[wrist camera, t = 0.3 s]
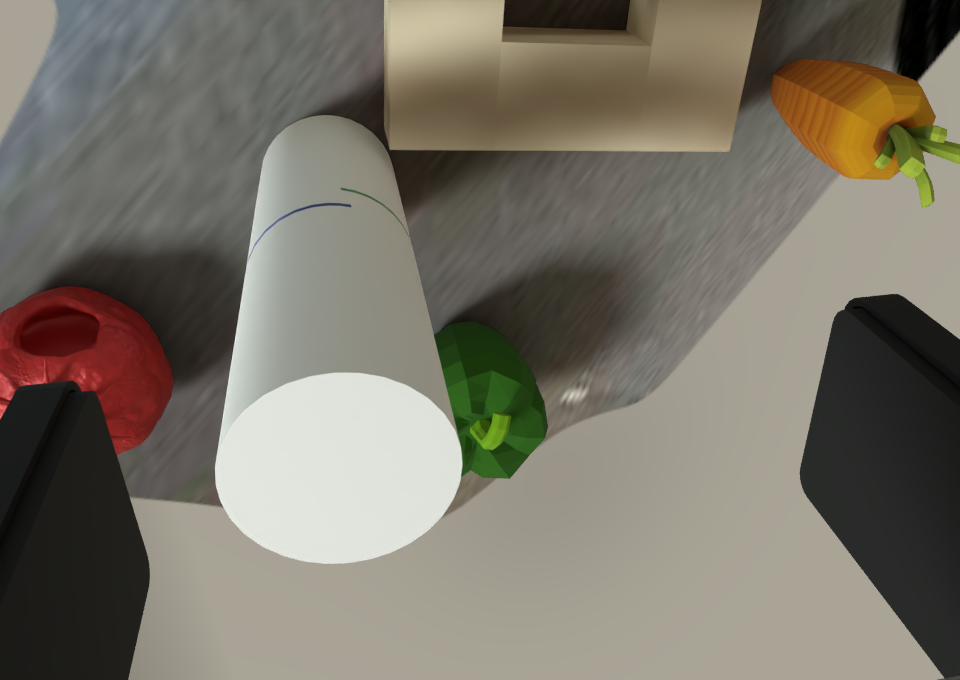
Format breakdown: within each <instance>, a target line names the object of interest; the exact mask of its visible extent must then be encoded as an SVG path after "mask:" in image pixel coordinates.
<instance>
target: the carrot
mask: <svg viewBox="0 0 960 680" xmlns="http://www.w3.org/2000/svg"><path fill="white" fill-rule="evenodd" d="M770 94H771V97H772V100H773V103H774V105H775V107H776V108H777V110H778V112H779V113H780V115H781V116H782V118H783V120H784V121H785V123H786V124H787V125H788V127H789V128H790V130H791V131H792V132H793V134H794V135H795V136H796V137H797V138H798V140H799V141H800V142H801V143H802V144H803V145H804V147H805V148H806V149H808V150H809V151H810V152H811V153H813V154H814V155H815V156H817V157H818V158H819V159H820V160H822V161H823V162H824V163H826V164H827V165H829V166H830V167H831V168H833V169H834V170H836V171H837V172H839V173H840V174H841V175H843V176H845V177H847V178H853V179H876V180H877V179H878V180H889V179H890V178H892V177H893V176H894V175H896V174H897V173H898V172H900V171H902V172H903V174H904V175H905V176H908V177H910V178H912V179H913V178H915V180H916V182H917V185H918V188H919V193H920V199H921V204H922V207H927V206H929V205H930V204H932V203H933V202H934V191H933V186H932V182H931V180H930V178H929V176H928V173H927V172H926V170H925V168H924V167H925V161H924V156H923V154H922V153H923V151H925V152H928V153H931V154H933V155H936V156H939V157H942V158H944V159H947V160H950V161H952V162H955V163H958V164H960V144H956V143H952V142H948V141H945V139H946V136H947V130H946V129H944V128H941V127H939V126H933V123H934V120H935V118H936V116H935V114H934V112H933V110H932V108H931V106H930V104H929V102H928V100H927V98H926V95H925V93H924V91H923V89H922V87H921V86H920V85H919V83H918V82H916V81H915V80H913V79H910V78H907V77H904V76H901V75H899V74H896V73H893V72H890V71H887V70H884V69H880V68H877V67H873V66H870V65H867V64H861V63H852V62H843V61H829V60H813V59H801V60H797V61H794V62H790V63H789V64H787V65H785V66H784V67H782V68H780V69H779V70H778V71H777V72H775V73H774V74H773V76H772V80H771V86H770Z"/></svg>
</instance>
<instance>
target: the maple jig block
mask: <svg viewBox="0 0 960 680" xmlns="http://www.w3.org/2000/svg"><path fill="white" fill-rule="evenodd" d="M504 1H505V0H384V128H385V132H386V136H387V141H388V145H389V149H390V150H507V151H720V152H729V151H730V147H731V142H732V137H733V133H734V128H735V123H736V119H737V114H738V109H739V105H740V100H741V96H742V91H743V86H744V82H745V77H746V72H747V68H748V63H749V58H750V54H751V49H752V45H753V40H754V35H755V31H756V26H757V21H758V17H759V12H760V7H761V3H762V0H630V6H629V13H628V20H627V27H626V30H596V29H564V28H532V27H503V15H504Z"/></svg>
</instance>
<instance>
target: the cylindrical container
mask: <svg viewBox="0 0 960 680" xmlns="http://www.w3.org/2000/svg"><path fill="white" fill-rule="evenodd" d="M462 465H463V464H462V453H461V445H460V441H459V437H458V433H457V429H456V425H455V421H454V417H453V412H452V408H451V404H450V400H449V396H448V392H447V388H446V384H445V379H444V375H443V371H442V367H441V363H440V359H439V355H438V351H437V346H436V342H435V338H434V334H433V330H432V326H431V322H430V318H429V313H428V309H427V305H426V301H425V297H424V293H423V289H422V285H421V280H420V276H419V272H418V268H417V264H416V260H415V256H414V252H413V248H412V244H411V239H410V235H409V231H408V227H407V223H406V219H405V215H404V211H403V206H402V202H401V198H400V194H399V190H398V186H397V182H396V178H395V173H394V169H393V166H392V162H391V159H390V156H389V154H388V152H387V151H386V149H385V147H384V145H383V144H382V143H381V141H380V140H379V139H378V138H377V137H376V136H375V135H374V133H372V132H371V131H370V130H368V129H367V128H366V127H364V126H363V125H361V124H359V123H357V122H355V121H353V120H351V119H347V118H343V117H340V116H332V115H320V116H311V117H308V118H305V119H302V120H299V121H297V122H295V123H293V124H291V125H290V126H288V127H286V128H285V129H284V130H283V131H282V132H281V133H280V134H278V135H277V136H276V138H275V139H274V141H273V142H272V143H271V145H270V146H269V148H268V150H267V152H266V155H265V157H264V160H263V165H262V171H261V177H260V183H259V189H258V196H257V202H256V208H255V215H254V221H253V228H252V234H251V241H250V247H249V254H248V260H247V266H246V273H245V279H244V286H243V292H242V298H241V305H240V311H239V317H238V324H237V330H236V336H235V343H234V349H233V355H232V362H231V368H230V375H229V381H228V388H227V394H226V400H225V407H224V413H223V420H222V426H221V433H220V439H219V446H218V452H217V459H216V465H215V477H216V488H217V491H218V494H219V498H220V501H221V504H222V505H223V507H224V509H225V511H226V512H227V514H228V516H229V517H230V519H231V520H232V521H233V522H234V523H235V525H237V527H238V528H240V530H241V531H242V532H243V533H244V534H245V535H247V536H248V537H249V538H251V539H252V540H254V541H255V542H256V543H258V544H259V545H261V546H263V547H264V548H267V549H269V550H271V551H273V552H276V553H278V554H280V555H282V556H286V557H290V558H293V559H297V560H301V561H305V562H316V563H324V564H333V563H334V564H335V563H351V562H357V561H363V560H369V559H372V558H375V557H379V556H382V555H385V554H388V553H391V552H393V551H395V550H397V549H399V548H401V547H403V546H405V545H407V544H409V543H411V542H412V541H414V540H415V539H417V538H418V537H420V536H421V535H422V534H424V533H425V532H427V531H428V530H429V529H430V528H431V527H432V526H433V525H434V524H435V523H436V522H437V521H438V520H439V519H440V518H441V517H442V516H443V514H444V513H445V511H446V510H447V508H448V507H449V505H450V504H451V502H452V501H453V499H454V497H455V494H456V491H457V489H458V486H459V483H460V479H461V472H462Z"/></svg>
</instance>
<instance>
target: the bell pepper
mask: <svg viewBox="0 0 960 680" xmlns="http://www.w3.org/2000/svg"><path fill="white" fill-rule="evenodd" d="M434 338H435V342H436V346H437V351H438V355H439V359H440V363H441V367H442V371H443V375H444V379H445V384H446V388H447V392H448V396H449V400H450V404H451V408H452V412H453V417H454V421H455V425H456V429H457V433H458V437H459V441H460V445H461V453H462V464H463V465H462V472H461V477H462V476H463V475H465V474H466V473H467V472H469V471H470V470H471V471H473V472H475V473H476V474H478V475H480V476H481V477H486V478H509V479H510V478H511V476H512V475H513V474H514V473H515V472H516V471H517V469H518V468H519V467H520V466H521V465H522V463H523V462H524V461H525V460H526V459H527V458H528V456H529V455H530V454H531V453H532V452H533V451H534V450H535V449H536V447H537V446H538V445H539V444H540V443H541V442H542V441H543V440H544V438H545V436H546V432H547V428H548V424H547V418H546V411H545V405H544V400H543V398H542V396H541V394H540V392H539V389H538V387H537V385H536V380H535V378H534V375H533V373H532V371H531V369H530V367H529V364H528V363H527V362H526V361H525V360H524V359H523V358H522V357H521V355H520V354H519V353H518V352H517V351H516V350H515V349H514V348H513V346H512V345H511V344H510V343H509V342H508V341H507V340H506V339H505V337H504V336H503V335H501V334H500V333H499V332H498V331H497V330H496V329H494V328H491V327H488V326H486V325H483V324H480V323H477V322H474V321H467V322H460V323H452V324H450V325H448V326H447V327H446V328H444V329H443V330H441V331H440V332H438V333H437V334H435V335H434Z"/></svg>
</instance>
